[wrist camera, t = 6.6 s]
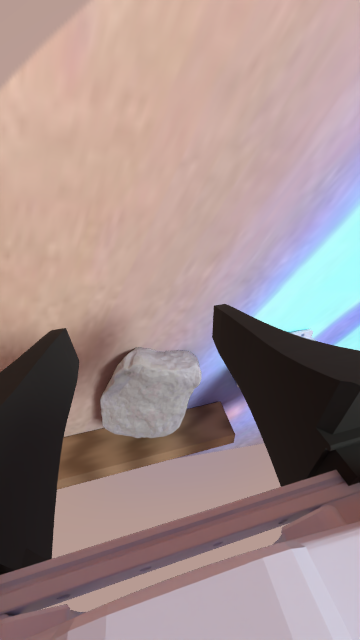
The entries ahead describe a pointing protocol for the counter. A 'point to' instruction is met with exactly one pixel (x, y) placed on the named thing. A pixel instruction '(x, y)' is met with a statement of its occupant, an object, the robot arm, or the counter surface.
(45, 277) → the counter surface
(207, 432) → the walnut wall
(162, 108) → the counter surface
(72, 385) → the robot arm
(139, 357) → the stone block
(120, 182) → the counter surface
